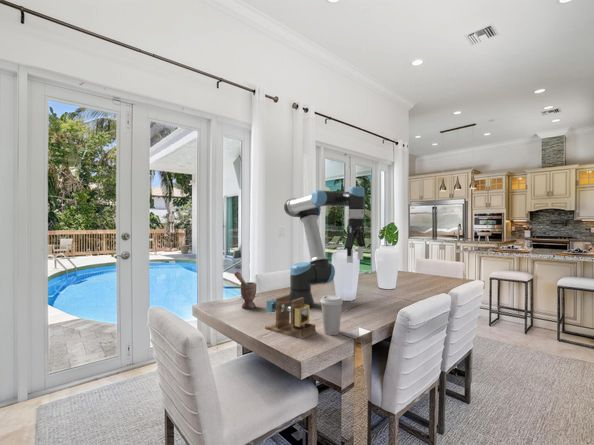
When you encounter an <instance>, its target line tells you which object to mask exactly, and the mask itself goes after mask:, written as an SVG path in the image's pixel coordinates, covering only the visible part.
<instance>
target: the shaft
mask: <svg viewBox="0 0 594 445" xmlns="http://www.w3.org/2000/svg"><path fill="white" fill-rule="evenodd" d="M282 311H286V312H290V313H289V314H291V307H290V306H285V305H284V304H283V305H282ZM266 312H268V313H274V312H275V313H276V298H274V299H273V298H272V299H270V300H269V299H268V300H266ZM301 315H304V316H307V315H308V311H307V310H303V311H301Z"/></svg>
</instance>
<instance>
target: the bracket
mask: <svg viewBox="0 0 594 445" xmlns="http://www.w3.org/2000/svg"><path fill="white" fill-rule="evenodd" d="M275 300H276V311H275V322H272V323H270V324H268V325H265V326H264V329H266V330H269V331H272V332H277V333H279V334H283V335H286V336H289V337H290V336H291V337H295V338H297V339H301V340H303V339H304V338H306V337H309V336H311V335H312V334H314V333H316V332H317V330H316V324H314V323H310V322H309V323H307V324H305V325H302V326H300V327H298V326H295V308H296V307H299V306H301V305H304V298H303V297H302V298H299V299H296V300H293V301H291V313H290V312H286V311H282V305H285V306H290V295H289V294H285V295H283V296H282V295H281V296H279V297H278V296H277V297H276V298H275ZM302 319H303V315H301V320H302Z"/></svg>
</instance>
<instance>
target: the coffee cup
mask: <svg viewBox="0 0 594 445" xmlns="http://www.w3.org/2000/svg"><path fill="white" fill-rule="evenodd" d="M320 303H321V314H322V326H323V333H324V334H325V335H328V336H337V335H339V334H340V328H341V316H342V307H343V303H344V301H343V299H342V297H341V296H339V295H336V294H335V295H334V294H327V295H323V296H322V297H321V299H320Z"/></svg>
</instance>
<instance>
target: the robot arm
mask: <svg viewBox="0 0 594 445" xmlns="http://www.w3.org/2000/svg"><path fill="white" fill-rule="evenodd" d="M365 196H366V194H365V188H364V187H363V186H350V187H349V188H348V191H333V190H331V191H330V190H321V189H320V190H314V191H313V192H312V193H311V194H308V195H305V196H301V197H298V198H296V197H293V198H292V197H291V198H289V199H287V200H286V201H285V203H284V205H283V207H284V208H283V209H284V212H285V213H286V214H287V215H288V216H289V217H292V218H299V221H300V223H302V224H303V228H304V233H305V237H306V243H307V248H308V252H309V257H310V260H309V262H308V261H304V262H296V263H293V264H292V265H290V270H289V274H290V278H289V279H290V280H289V283H290V284H289V285H290V287H289V290H290V292H289V294H288V295H290V307H291V301H293V300H296V299H299V298H302V297H303V298H304V304H307V305H310V308H311V307H313V306H314V305H315V301H314V297H313V294H312V293H313V292H312V286H317V285H326V284H330V283H331V282H332V281H333V280H334V277H335V276H336V270H335V266H334V264H332V263H331V262H329V259H328V258H327V257H326V255H325V251H324V247H323V242H322V238H321V233H320V232H321V231H320V228H319V224H318V220H319V217H320V215H321V211H322V210H321V209H322V208H321V207H329V206H330V207H341V208H342V207H343V208H344V207H348V215H347V216H348V220H347V221H348V226H349V227H348V229H347V235H346V236H347V237H346V240H345V245H344V249H345V250H346V263H350V264H353V262H354V261H353V260H354V259H353V258H354V248H353V247H354V244H355V241H356V242H357V245H358V246H357V260H364V248H366V240H365V235H364V234H365V233H364V226H365V219H364V217H365V213H366V212H365Z"/></svg>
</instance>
